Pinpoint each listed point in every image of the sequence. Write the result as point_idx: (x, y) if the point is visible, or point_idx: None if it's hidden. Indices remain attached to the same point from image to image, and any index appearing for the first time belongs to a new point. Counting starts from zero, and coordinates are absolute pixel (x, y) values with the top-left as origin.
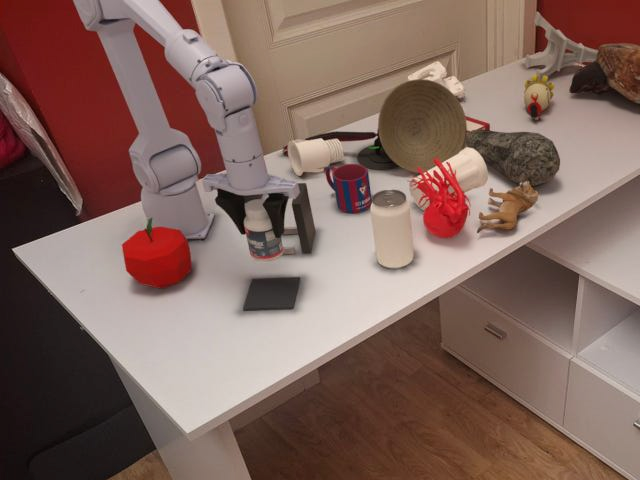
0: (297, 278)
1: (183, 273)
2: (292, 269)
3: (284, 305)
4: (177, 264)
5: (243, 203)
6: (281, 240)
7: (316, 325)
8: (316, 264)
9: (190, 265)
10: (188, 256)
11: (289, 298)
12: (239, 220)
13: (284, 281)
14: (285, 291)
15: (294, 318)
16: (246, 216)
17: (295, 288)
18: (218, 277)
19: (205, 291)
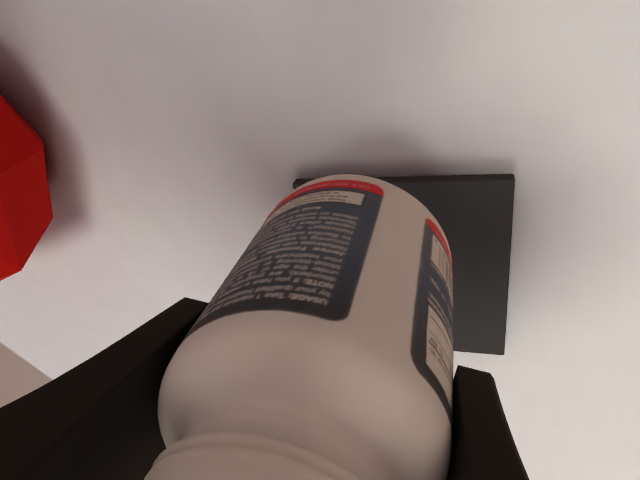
0: (502, 191)
1: (41, 199)
2: (459, 90)
3: (468, 344)
4: (10, 266)
5: (55, 472)
6: (452, 310)
7: (599, 425)
8: (602, 36)
9: (31, 160)
10: (1, 191)
11: (482, 312)
12: (145, 472)
13: (441, 210)
14: (458, 274)
15: (512, 386)
16: (166, 443)
17: (501, 258)
18: (155, 151)
19: (157, 230)
